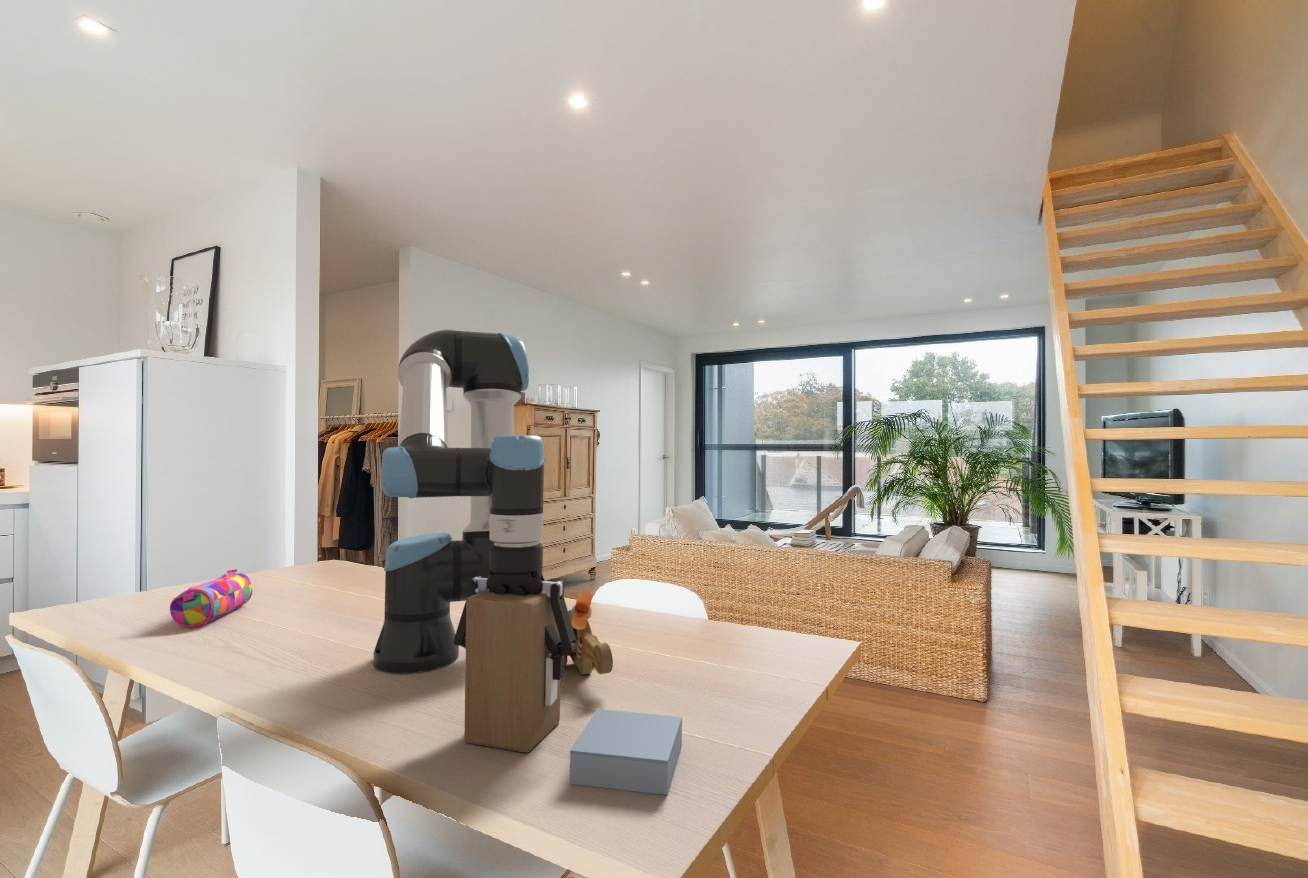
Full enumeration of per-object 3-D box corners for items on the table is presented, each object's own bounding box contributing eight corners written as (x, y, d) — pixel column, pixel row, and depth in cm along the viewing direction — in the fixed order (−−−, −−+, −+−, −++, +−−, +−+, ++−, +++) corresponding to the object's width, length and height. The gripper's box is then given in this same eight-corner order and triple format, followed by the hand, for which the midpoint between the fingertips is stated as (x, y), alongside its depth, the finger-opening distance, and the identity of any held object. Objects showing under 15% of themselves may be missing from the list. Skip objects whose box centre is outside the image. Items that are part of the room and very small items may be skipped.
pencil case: (212, 605, 153) (213, 569, 153) (254, 604, 155) (255, 568, 156) (165, 631, 132) (166, 589, 132) (215, 629, 134) (216, 587, 134)
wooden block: (501, 713, 93) (503, 581, 94) (561, 722, 91) (562, 586, 91) (462, 743, 84) (464, 597, 84) (528, 754, 81) (530, 603, 81)
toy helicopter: (590, 655, 120) (591, 585, 120) (631, 694, 101) (632, 611, 101) (549, 661, 116) (550, 588, 116) (584, 703, 97) (585, 616, 98)
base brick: (569, 783, 74) (570, 750, 74) (597, 737, 86) (597, 708, 86) (667, 795, 72) (667, 760, 72) (681, 746, 84) (682, 716, 84)
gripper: (428, 543, 86) (426, 701, 86) (585, 550, 82) (583, 717, 81) (455, 535, 93) (453, 681, 93) (601, 541, 89) (599, 694, 89)
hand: (514, 698), depth 87 cm, fingers closed on wooden block, 10 cm apart
